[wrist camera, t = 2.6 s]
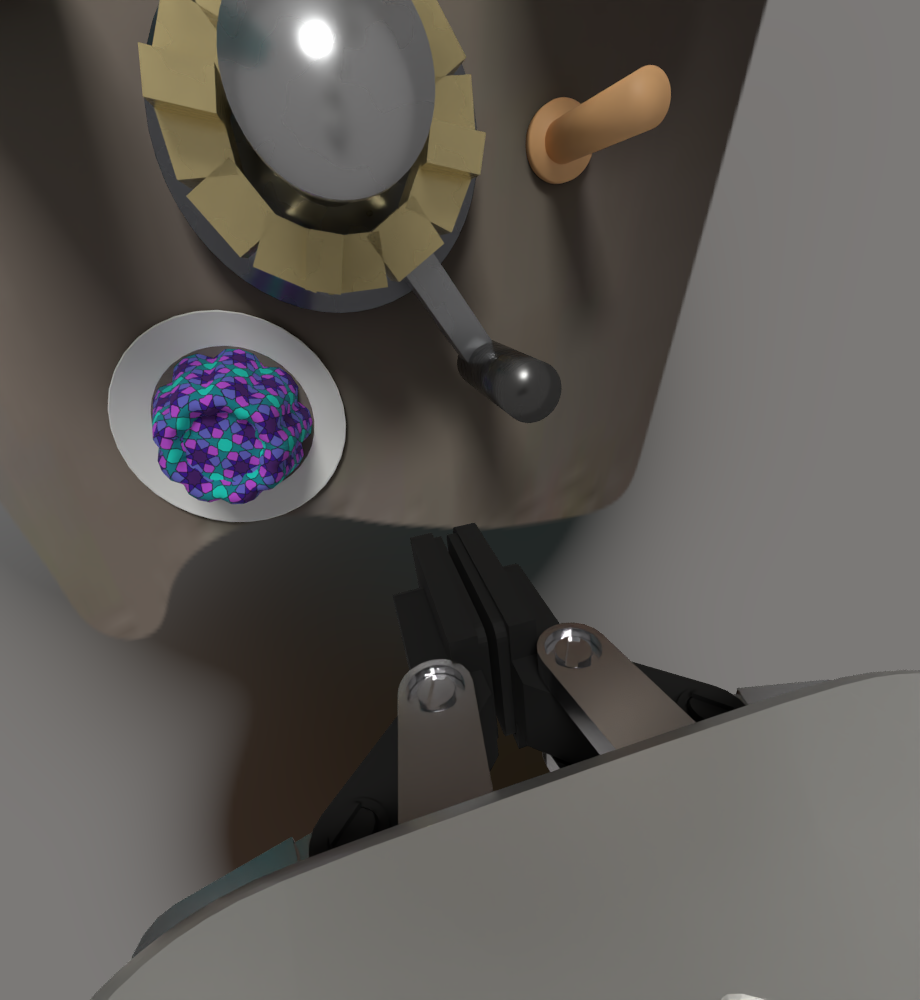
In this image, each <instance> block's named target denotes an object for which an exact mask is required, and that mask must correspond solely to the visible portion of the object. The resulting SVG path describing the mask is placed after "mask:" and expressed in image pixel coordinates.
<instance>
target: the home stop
mask: <svg viewBox="0 0 920 1000" xmlns="http://www.w3.org/2000/svg"><path fill="white" fill-rule="evenodd" d="M670 100H671V87H670V83H669V80H668V77H667V75H666V74H665V72H664V71H663V70H662V69H661V68H659V67H657V66H654V65H646V66H644V67H642V68H640V69H638V70H637V71H635V72H633V73H632V74H630V75H628V76H627V77H625V78H623V79H622V80H620V81H618V82H617V83H615V84H613V85H612V86H610V87H608V88H607V89H605V90H603V91H602V92H600V93H599V94H597V95H595V96H594V97H592V98H590V99H589V100H587V101H585V102H584V103H582V104H580V103H579V102H578V101H576V100H574V99H572V98H567V97H561V98H556V99H553V100H552V101H550V102H548V103H547V104H545V105H544V106H543V107H541V108H540V109H539V110H538V111H537V112H536V114H535V115H534V117H533V118H532V120H531V122H530V124H529V127H528V130H527V135H526V153H527V158H528V161H529V164H530V166H531V168H532V170H533V171H534V172H535V174H536V175H537V176H538V177H539V178H540V179H542V180H543V181H545V182H547V183H551V184H561V183H564V182H567V181H570V180H572V179H574V178H576V177H577V176H579V175H580V174H581V173H582V172H583V170H584V169H585V168H586V166H587V165H588V163H589V161H590V158H591V156H592V153H594V152H596V151H599V150H601V149H604V148H606V147H609V146H611V145H614V144H616V143H619V142H621V141H624V140H626V139H629V138H631V137H634V136H636V135H638V134H641V133H643V132H646V131H648V130H651V129H653V128H655V127H656V126H658V125H659V124H660V123H661V122H662V120H663V119H664V117H665V116H666V114H667V111H668V109H669V105H670Z"/></svg>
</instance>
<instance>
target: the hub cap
mask: <svg viewBox="0 0 920 1000" xmlns="http://www.w3.org/2000/svg"><path fill="white" fill-rule="evenodd" d="M158 9H159V5H158V8H157V10H156V13H155V15H154V18H153V21H152V25H151V29H150V33H149V38H148V42H147V45H151V46H152V44H153V38H154V32H155V26H156V20H157V14H158ZM216 46H217V56H218V65H219V70H220V75H221V80H222V84H223V87H224V91H225V94H226V97H227V100H228V103H229V105H230V107H231V110H232V112H231V117H230V122H231V126H232V130H233V133H234V137H235V141H236V145H237V149H238V153H239V156H240V160H241V164H242V168H243V172H244V176H245V177H246V178H247V180H248V181H249V182H250V183H251V185H252V186H253V187H254V188H255V190H256V191H257V192H258V193H259V195H260V196H261V197H262V198H263V200H264V201H265V202H266V203H267V205H268V206H269V207H270V208H271V210H272V211H273V212H274V213H275V214H276V215H278V216H280V217H282V218H284V219H287V220H289V221H291V222H293V223H295V224H297V225H299V226H302V227H304V228H307V229H313V230H319V231H324V232H330V233H335V234H341V235H348V234H357V233H366V232H370V231H371V230H372V229H374V228H375V227H376V226H377V225H378V224H379V223H381V222H382V221H383V220H384V219H385V218H386V217H387V216H389V215H390V214H391V213H392V212H393V211H394V210H395V209H397V208H398V206H399V203H400V199H401V196H402V193H403V190H404V187H405V184H406V181H407V178H408V175H409V172H410V169H411V166H412V165H413V164H414V162H415V161H416V159H417V158H418V156H419V154H420V152H421V150H422V149H423V146H424V144H425V141H426V139H427V136H428V134H429V130H430V126H431V123H432V118H433V111H434V105H435V73H434V65H433V59H432V53H431V49H430V45H429V41H428V37H427V35H426V32H425V29H424V26H423V23H422V21H421V18H420V16H419V14H418V12H417V10H416V8H415V6H414V4H413V2H412V0H222V1H221V4H220V8H219V14H218V22H217V44H216ZM454 75H465V72H464V69H463V66H462V64H461V65H460V66H459V68H458V69H457V71H456V72H455V73H454ZM144 99H145V98H144ZM145 108H146V115H147V122H148V128H149V133H150V137H151V140H152V144H153V148H154V152H155V155H156V158H157V161H158V164H159V166H160V169H161V171H162V174H163V177H164V179H165V182H166V184H167V186H168V188H169V190H170V192H171V194H172V196H173V198H174V200H175V202H176V203H177V205H178V207H179V209H180V210H181V212H182V213H183V215H184V216H185V218H186V220H187V221H188V223H189V224H190V226H191V227H192V229H193V230H194V231H195V232H196V234H197V235H198V236H199V237H200V239H201V240H202V241H203V242H204V243H205V245H206V246H207V247H208V248H209V249H210V250H211V251H212V252H213V253H214V254H215V255H216V256H217V257H218V258H219V259H220V260H221V261H222V262H223V263H224V264H225V265H226V266H227V267H228V268H229V269H231V270H232V271H233V272H234V273H236V274H237V275H238V276H239V277H241V278H242V279H243V280H245V281H246V282H248V283H249V284H251V285H253V286H254V287H256V288H257V289H259V290H261V291H262V292H264V293H266V294H268V295H270V296H272V297H274V298H276V299H279V300H281V301H283V302H286V303H289V304H292V305H295V306H298V307H301V308H305V309H310V310H315V311H320V312H334V313H345V312H359V311H363V310H368V309H373V308H377V307H379V306H382V305H385V304H387V303H390V302H393V301H395V300H397V299H398V298H400V297H402V296H404V295H406V294H408V293H409V292H411V291H412V289H411V288H410V287H409V285H408V284H407V282H406V281H405V280H404V278H403V279H402V280H401V281H400V282H396V281H391V280H390V279H389V278H388V276H387V275H386V277H387V283H388V287H385V288H378V289H371V290H363V291H356V292H348V293H341V295H338V294H333V295H329V294H328V293H324V292H316V293H314V292H312V291H310V290H305V288H302V287H300V286H298V285H295V284H293V283H291V282H288V281H286V280H283V279H281V278H279V277H276V276H274V275H272V274H269V273H267V272H264V271H262V270H260V269H257V268H255V267H253V264H254V261H255V257H256V253H257V251H256V252H255V253H254V254H253V255H252V256H250V257H249V258H241V257H239V255H238V254H237V253H236V252H235V251H234V250H233V249H232V247H231V246H230V245H229V244H228V243H227V242H226V241H225V239H224V238H223V237H222V236H221V235H220V234H219V233H218V232H217V230H216V229H215V228H214V227H213V226H212V225H211V224H210V222H209V221H208V220H207V219H206V218H205V217H204V216H203V215H202V213H201V212H200V211H199V210H198V209H197V208H196V207H195V205H194V204H193V203H192V202H191V201H190V200H189V199H188V198H187V195H188V194H189V193H190V192H191V191H192V189H191V188H189V187H188V186H186V185H184V184H183V183H181V182H179V181H178V180H177V178H176V175H175V172H174V169H173V166H172V163H171V159H170V156H169V153H168V150H167V147H166V144H165V140H164V137H163V134H162V131H161V128H160V125H159V121H158V118H157V115H156V112H155V109H154V107H153V106H152V105H151V104H150V103H149V102H148V101H147V100H146V99H145ZM473 108H474V106H473ZM474 121H475V130H477V127H476V120H475V112H474ZM475 180H476V177H475V178H473V179H472V180H471V181H470V184H469V187H468V190H467V192H466V195H465V198H464V200H463V203H462V206H461V209H460V211H459V214H458V217H457V220H456V222H455V225H454V228H453V230H452V233H448V234H444V235H440V238H441V239H442V241H443V242H444V244H443V245H442V246H441V247H440V248H438V249H437V250H436V251H435V252H434V255H435V256H436V258H437V259H438V261H439V262H440V264H441V263H442V261H443V260H444V259H445V257H446V256H447V255H448V253H449V252H450V250H451V248H452V247H453V245H454V243H455V241H456V240H457V238H458V236H459V234H460V231H461V229H462V227H463V224H464V222H465V220H466V217H467V214H468V210H469V207H470V204H471V201H472V196H473V191H474V185H475Z"/></svg>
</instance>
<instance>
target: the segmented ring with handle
mask: <svg viewBox="0 0 920 1000" xmlns="http://www.w3.org/2000/svg"><path fill="white" fill-rule="evenodd" d="M221 1H222V0H160V3H159V9H158V14H157V20H156V26H155V32H154V38H153V44H152V46H151V45H147V44H143V43H139V42H138V48H139V59H140V70H141V81H142V92H143V97H144V98H145V99H146V100H147V101H148V102H149V103H150V104H151V105H152V106H153V107H154V109H155V112H156V115H157V118H158V121H159V125H160V128H161V131H162V134H163V137H164V140H165V144H166V147H167V150H168V153H169V156H170V159H171V163H172V166H173V169H174V172H175V175H176V178H177V180H178V181H179V182H181V183H183V184H184V185H186V186H188V187H189V188H191V189H192V191H191V192H190V193H189V194H188V195H187V198H188V199H189V200H190V201H191V202H192V203H193V204H194V205H195V207H196V208H197V209H198V210H199V211H200V212H201V213H202V215H203V216H204V217H205V218H206V219H207V220H208V221H209V222H210V224H211V225H212V226H213V227H214V228H215V229H216V230H217V232H218V233H219V234H220V235H221V236H222V237H223V238H224V239H225V241H226V242H227V243H228V244H229V245H230V246H231V247H232V249H233V250H234V251H235V252H236V253H237V254H238V255H239V257H241V258H249V257H250V256H252V255H253V254H254V253H255V252H256V251H257V253H256V257H255V261H254V264H253V267H255V268H257V269H260V270H262V271H264V272H267V273H269V274H272V275H274V276H276V277H279V278H281V279H283V280H286V281H288V282H291V283H293V284H295V285H298V286H300V287H302V288H305V290H310V291H312V292H314V293H316V292H324V293H328V294H329V295H333V294H338V295H341V293H348V292H356V291H363V290H371V289H378V288H385V287H388V283H387V277H386V275H387V276H388V278H389V279H390V280H391V281H396V282H400V281H401V280H402V279H403V278H404V280H405V281H406V282H407V284H408V285H409V287H410V288H411V289H412V291H413V292H414V294H415V295H416V296H417V298H418V299H419V300H420V302H421V303H422V305H423V306H424V307H425V309H426V310H427V312H428V313H429V314H430V316H431V317H432V319H433V320H434V321H435V323H436V324H437V326H438V327H439V328H440V330H441V331H442V333H443V334H444V335H445V337H446V338H447V340H448V341H449V342H450V344H451V345H452V347H453V348H454V349H455V351H456V352H457V353H458V359H457V367H458V371H459V373H460V375H461V377H462V378H463V379H464V380H465V381H466V382H467V383H469V384H470V385H471V386H473V387H474V388H475V389H477V390H478V391H479V392H480V393H482V394H483V395H484V396H486V397H487V398H488V399H490V400H491V401H492V402H494V403H495V404H496V405H497V406H499V407H500V408H501V409H503V410H504V411H505V412H507V413H508V414H509V415H510V416H512V417H513V418H515V419H516V420H518V421H521V422H525V423H532V422H537V421H540V420H542V419H544V418H545V417H547V416H548V415H549V414H550V413H551V412H552V411H553V410H554V408H555V407H556V405H557V403H558V401H559V398H560V395H561V381H560V378H559V375H558V373H557V372H556V370H555V369H554V368H553V367H552V366H551V365H549V364H547V363H545V362H543V361H540V360H538V359H536V358H533V357H531V356H529V355H526V354H524V353H521V352H519V351H517V350H514V349H512V348H510V347H507V346H505V345H502V344H500V343H498V342H495V341H493V340H491V339H490V338H489V336H488V335H487V333H486V332H485V330H484V329H483V327H482V326H481V324H480V322H479V321H478V319H477V318H476V316H475V315H474V313H473V312H472V310H471V309H470V307H469V306H468V304H467V303H466V301H465V300H464V298H463V297H462V295H461V294H460V292H459V291H458V289H457V288H456V286H455V285H454V283H453V282H452V280H451V279H450V277H449V276H448V274H447V273H446V271H445V270H444V268H443V267H442V265H441V264H440V262H439V261H438V259H437V258H436V256H435V255H434V252H435V251H436V250H437V249H438V248H440V247H441V246H442V245H443V244H444V242H443V241H442V239H441V238H440V235H444V234H448V233H452V230H453V228H454V225H455V222H456V220H457V217H458V214H459V211H460V209H461V206H462V203H463V200H464V198H465V195H466V192H467V190H468V187H469V184H470V181H471V180H472V179H473V178H475V177H477V176H479V175H480V172H481V165H482V158H483V150H484V143H485V136H486V133H485V132H481V131H477V130H475V121H474V108H473V95H472V82H471V74H468V75H454V73H455V72H456V71H457V69H458V68H459V66H460V65H461V64H462V62H463V61H464V60H465V58H466V56H465V54H464V52H463V50H462V48H461V46H460V44H459V42H458V41H457V39H456V37H455V35H454V33H453V31H452V29H451V27H450V25H449V23H448V21H447V19H446V17H445V15H444V13H443V12H442V10H441V8H440V6H439V4H438V2H437V0H412V2H413V4H414V6H415V8H416V10H417V12H418V14H419V16H420V18H421V21H422V23H423V26H424V29H425V32H426V35H427V37H428V41H429V45H430V49H431V53H432V59H433V65H434V73H435V105H434V111H433V118H432V123H431V126H430V130H429V134H428V136H427V139H426V141H425V144H424V146H423V149H422V150H421V152H420V154H419V156H418V158H417V159H416V161H415V162H414V164H413V165H412V166H411V169H410V172H409V175H408V178H407V181H406V184H405V187H404V190H403V193H402V196H401V199H400V203H399V206H398V208H397V209H395V210H394V211H393V212H392V213H391V214H390V215H389V216H387V217H386V218H385V219H384V220H383V221H382V222H381V223H379V224H378V225H377V226H376V227H375V228H374V229H372V230H371V231H370V232H366V233H357V234H348V235H341V234H335V233H330V232H324V231H319V230H313V229H307V228H304V227H302V226H299V225H297V224H295V223H293V222H291V221H289V220H287V219H284V218H282V217H280V216H278V215H276V214H275V213H274V212H273V211H272V210H271V208H270V207H269V206H268V205H267V203H266V202H265V201H264V200H263V198H262V197H261V196H260V195H259V193H258V192H257V191H256V190H255V188H254V187H253V186H252V185H251V183H250V182H249V181H248V180H247V178H246V177H245V176H244V172H243V168H242V164H241V160H240V156H239V153H238V149H237V145H236V141H235V137H234V133H233V130H232V126H231V122H230V117H231V112H232V110H231V107H230V105H229V103H228V100H227V97H226V94H225V91H224V87H223V84H222V80H221V75H220V70H219V65H218V56H217V46H216V44H217V22H218V14H219V8H220V4H221Z"/></svg>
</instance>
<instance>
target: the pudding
mask: <svg viewBox="0 0 920 1000" xmlns="http://www.w3.org/2000/svg"><path fill="white" fill-rule="evenodd" d="M213 346H234V347H242V348H246V349H249V350H253V351H256V352H259V353H261V354H263V355H265V356H268V357H270V358H271V359H273V360H274V361H276V362H277V363H279V364H281V365H282V366H283V367H284V368H285V369H287V370H288V371H289V372H290V373H291V374H292V375H293V376H294V377H295V379H296V380H297V381H298V382H299V383H300V385H301V386H302V388H303V389H304V391H305V393H306V395H307V396H308V399H309V401H310V404H311V407H312V410H313V416H314V437H313V442H312V446H311V449H310V451H309V453H308V456H307V457H306V459H305V460H304V462H303V463H302V465H301V466H300V467H299V468H298V469H297V470H296V471H295V472H294V473H293V474H292V475H291V476H289V477H288V478H287V479H285V478H286V477H287V476H288V475H289V474H290V473H291V472H292V471H293V470H294V469H295V468H296V467H298V466H299V464H300V462H301V460H302V458H303V456H304V452H303V448H302V444H301V443H302V442H303V441H304V440H305V439H306V438H307V437H308V436H309V435H310V434H311V428H312V419H311V415H310V412H309V410H308V409H307V408H306V407H304V406H303V405H302V404H301V403H299V402H298V386H297V385H296V383H295V382H294V380H293V378H292V377H291V376H290V375H289V374H287V373H286V372H285V371H283V370H282V369H280V368H276V367H264V366H263V365H262V364H261V363H260V361H259V360H258V359H257V358H256V356H255V355H254V354H252V353H249V352H247V351H244V350H241V349H225V350H224V351H222V352H221V353H220V354H219V355H217V356H216V357H215V358H211V357H207V356H204V355H200V354H195V355H191V356H188V357H185V358H183V359H182V360H181V361H180V362H179V363H178V364H177V365H176V366H175V367H174V372H173V380H172V383H170V384H167V385H165V386H162V387H160V388H159V389H158V391H157V393H156V395H155V397H154V399H153V422H152V421H151V400H152V396H153V393H154V390H155V386H156V385H157V383H158V381H159V379H160V378H161V376H162V374H163V373H164V372H165V371H166V370H167V369H168V368H169V367H170V365H171V364H173V363H174V362H175V361H177V360H178V359H180V358H181V357H182V356H184V355H187V354H189V353H191V352H193V351H195V350H199V349H203V348H207V347H213ZM108 415H109V421H110V428H111V431H112V434H113V437H114V439H115V442H116V445H117V448H118V449H119V451H120V453H121V454H122V456H123V458H124V460H125V461H126V463H127V465H128V466H129V467H130V468H131V470H132V471H133V472H134V473H135V474H136V476H137V477H138V478H139V479H140V480H141V481H142V482H143V483H144V484H145V485H146V486H147V487H148V488H150V489H151V490H152V491H153V492H154V493H155V494H157V495H158V496H160V497H161V498H163V499H164V500H166V501H168V502H169V503H171V504H172V505H174V506H176V507H178V508H181V509H183V510H185V511H187V512H189V513H192V514H195V515H198V516H202V517H205V518H209V519H213V520H220V521H227V522H252V521H259V520H266V519H270V518H273V517H277V516H280V515H283V514H286V513H288V512H290V511H292V510H294V509H296V508H298V507H300V506H301V505H303V504H304V503H306V502H307V501H309V500H310V499H311V498H313V497H314V496H315V495H316V494H317V493H318V492H319V491H320V490H321V489H322V488H323V487H324V486H325V485H326V484H327V482H328V481H329V479H330V478H331V476H332V475H333V473H334V472H335V470H336V468H337V465H338V463H339V461H340V459H341V456H342V452H343V448H344V443H345V434H346V420H345V413H344V406H343V403H342V400H341V397H340V393H339V390H338V388H337V386H336V384H335V382H334V380H333V378H332V376H331V375H330V373H329V371H328V370H327V368H326V367H325V366H324V364H323V363H322V362H321V361H320V359H319V358H318V357H317V355H316V354H315V353H314V352H313V351H311V350H310V349H309V348H308V347H307V346H306V345H305V344H304V343H303V342H302V341H301V340H299V339H298V338H296V337H295V336H293V335H292V334H290V333H289V332H287V331H286V330H284V329H283V328H281V327H279V326H277V325H275V324H272V323H270V322H268V321H266V320H264V319H261V318H258V317H254V316H251V315H247V314H244V313H240V312H231V311H222V310H209V311H194V312H190V313H186V314H182V315H177V316H174V317H171V318H169V319H167V320H165V321H163V322H160V323H158V324H156V325H154V326H153V327H151V328H150V329H148V330H147V331H146V332H144V333H143V334H142V335H140V336H139V337H137V339H136V340H135V341H134V342H133V343H132V344H131V345H130V346H129V348H128V349H127V350H126V351H125V352H124V353H123V355H122V357H121V359H120V361H119V363H118V364H117V366H116V368H115V370H114V373H113V376H112V380H111V383H110V387H109V394H108ZM284 479H285V480H284ZM282 480H284V481H282ZM281 481H282V482H281Z"/></svg>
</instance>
